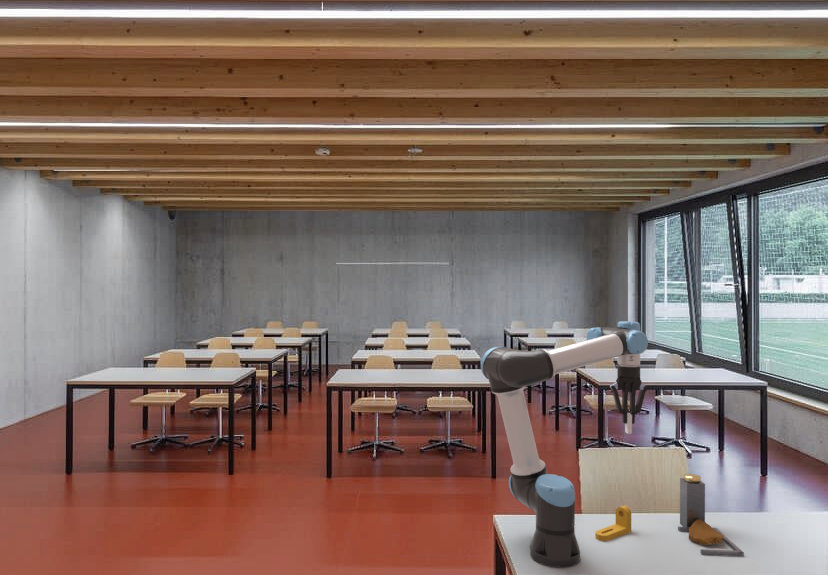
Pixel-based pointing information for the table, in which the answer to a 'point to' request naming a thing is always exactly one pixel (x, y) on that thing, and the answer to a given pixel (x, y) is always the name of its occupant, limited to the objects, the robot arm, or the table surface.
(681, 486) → the press
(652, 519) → the table surface
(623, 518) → the bracket
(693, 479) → the pin
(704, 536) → the artifact
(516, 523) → the table surface
